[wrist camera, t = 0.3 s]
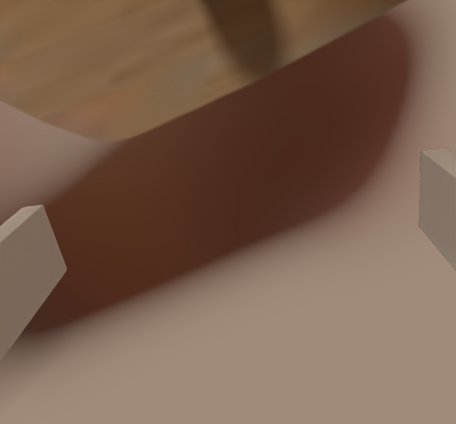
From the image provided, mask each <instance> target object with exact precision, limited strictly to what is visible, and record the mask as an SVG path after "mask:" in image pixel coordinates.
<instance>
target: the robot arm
mask: <svg viewBox="0 0 456 424" xmlns="http://www.w3.org/2000/svg"><path fill="white" fill-rule="evenodd" d="M419 204H420V205H419V227H420V228H421V229H422V230H423V232H424V233H425V234H426V235H427V236H428V237H429V239H430V240H431V241H432V243H433V244H434V245H435V246H436V247H437V249H438V250H439V251H440V252H441V253H442V255H443V256H444V257H445V258H446V259H447V260H448V261H449V263H450V264H451V265H452V267H453V268H454V269H455V270H456V155H455V154H454V153H452V152H450V151H449V150H448V149H446V148H441V149H433V150H426V151H421V155H420V202H419ZM66 270H67V268H66V266H65V263H64V260H63V257H62V255H61V252H60V249H59V247H58V244H57V241H56V239H55V236H54V234H53V231H52V228H51V225H50V223H49V220H48V217H47V215H46V212H45V209H44V207H43V205H38V206H30V207H23V208H22V209H21V210H19V211H18V212H17V213H16V214H15V215H14V216H12V217H11V218H10V219H9V220H7V221H6V222H5V223H4V224H2V225H1V226H0V361H1V360H2V358H3V357H4V356H5V354H6V353H7V352H8V350H9V349H10V347H11V346H12V344H13V343H14V342H15V341H16V339H17V338H18V336H19V335H20V334H21V332H22V331H23V329H24V328H25V327H26V325H27V324H28V323H29V321H30V320H31V319H32V317H33V316H34V314H35V313H36V312H37V310H38V309H39V308H40V306H41V305H42V303H43V302H44V301H45V299H46V298H47V297H48V295H49V294H50V292H51V291H52V290H53V288H54V287H55V286H56V284H57V283H58V281H59V280H60V279H61V277H62V276H63V275H64V273H65V272H66Z"/></svg>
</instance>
